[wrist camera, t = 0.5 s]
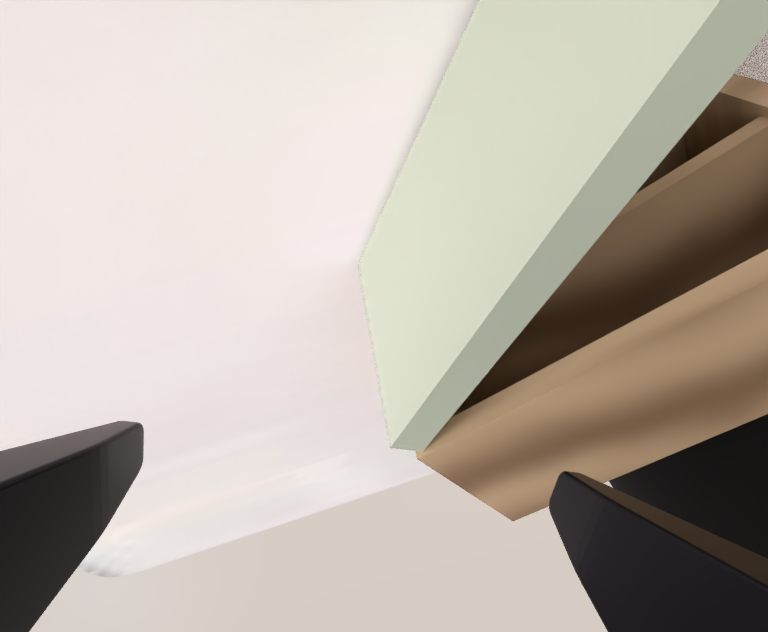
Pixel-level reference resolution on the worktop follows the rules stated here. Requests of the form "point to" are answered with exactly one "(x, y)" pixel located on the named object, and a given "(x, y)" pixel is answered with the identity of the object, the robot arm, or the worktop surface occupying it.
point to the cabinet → (636, 329)
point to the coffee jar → (713, 485)
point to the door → (528, 177)
